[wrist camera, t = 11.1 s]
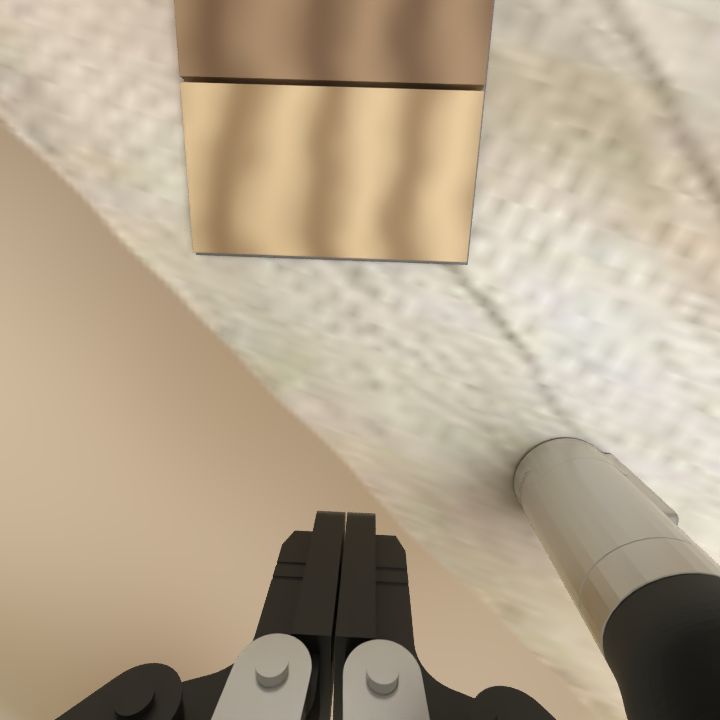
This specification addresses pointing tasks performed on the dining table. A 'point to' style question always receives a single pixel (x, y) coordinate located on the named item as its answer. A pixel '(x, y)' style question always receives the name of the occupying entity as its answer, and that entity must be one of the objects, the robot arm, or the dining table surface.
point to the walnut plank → (335, 42)
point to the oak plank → (331, 170)
